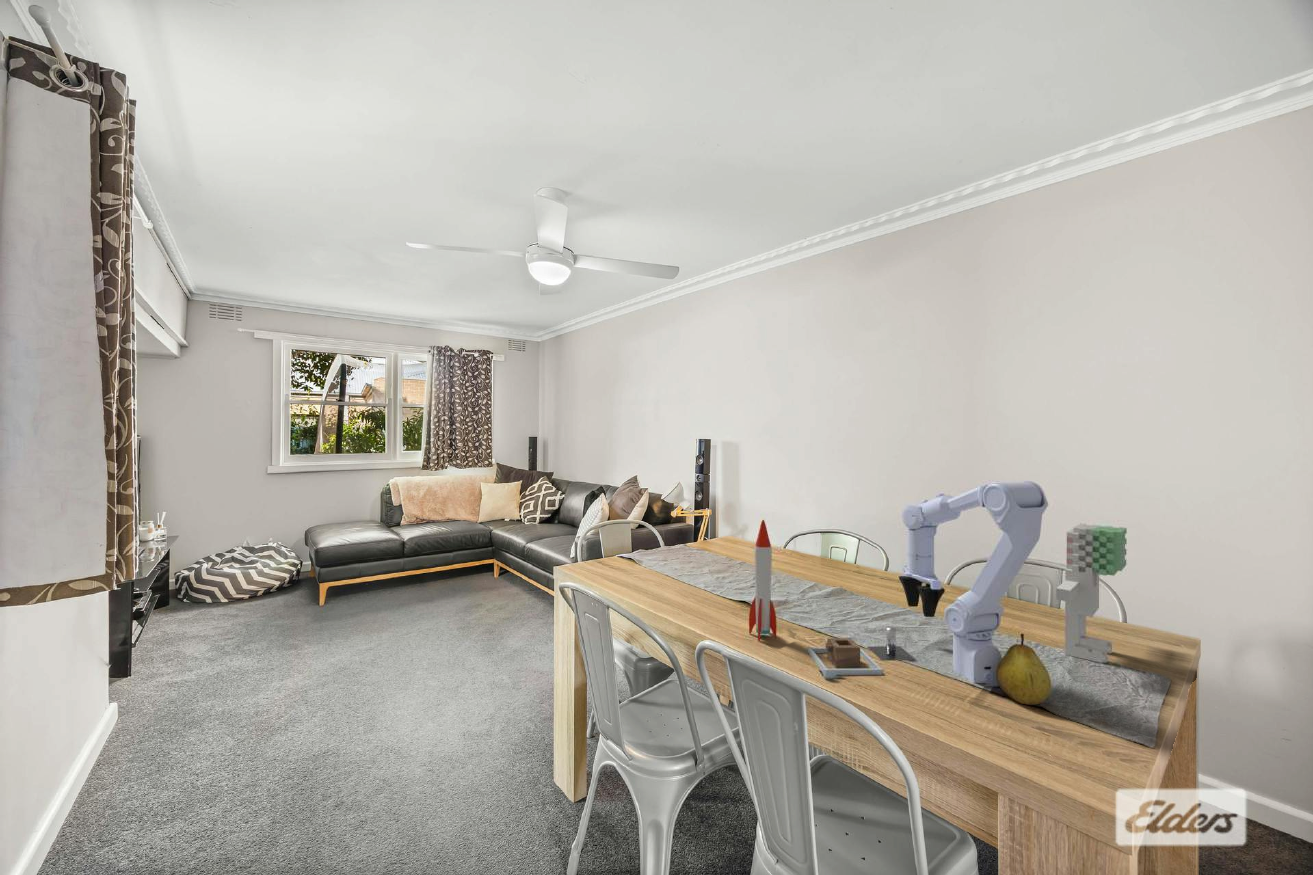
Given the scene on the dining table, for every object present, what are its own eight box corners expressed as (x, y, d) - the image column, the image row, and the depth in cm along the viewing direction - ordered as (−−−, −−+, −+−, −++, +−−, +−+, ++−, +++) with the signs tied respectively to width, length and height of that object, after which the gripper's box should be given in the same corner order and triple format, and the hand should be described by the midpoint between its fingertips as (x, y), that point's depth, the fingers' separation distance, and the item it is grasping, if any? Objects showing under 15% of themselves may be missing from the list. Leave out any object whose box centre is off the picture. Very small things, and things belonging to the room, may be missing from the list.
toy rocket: (758, 641, 137) (758, 522, 137) (748, 633, 143) (748, 518, 142) (778, 638, 139) (778, 520, 139) (767, 631, 144) (767, 517, 144)
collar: (860, 670, 120) (860, 647, 120) (831, 670, 119) (831, 647, 119) (850, 659, 125) (850, 638, 125) (823, 660, 125) (823, 638, 125)
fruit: (1032, 713, 102) (1032, 649, 102) (986, 692, 110) (986, 632, 110) (1062, 704, 105) (1062, 642, 105) (1015, 684, 113) (1015, 627, 113)
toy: (1114, 681, 115) (1115, 538, 115) (1055, 666, 122) (1056, 532, 122) (1130, 643, 136) (1131, 522, 136) (1079, 632, 143) (1080, 518, 143)
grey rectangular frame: (882, 678, 116) (882, 669, 116) (825, 679, 116) (825, 669, 116) (859, 655, 128) (859, 647, 128) (808, 656, 128) (808, 647, 128)
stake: (916, 664, 124) (916, 634, 124) (881, 664, 123) (881, 634, 123) (900, 650, 132) (900, 622, 132) (867, 650, 131) (867, 622, 131)
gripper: (890, 548, 139) (890, 601, 139) (919, 561, 124) (919, 621, 124) (918, 548, 139) (918, 601, 139) (950, 561, 124) (950, 621, 124)
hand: (920, 611), depth 132 cm, fingers open, 7 cm apart
